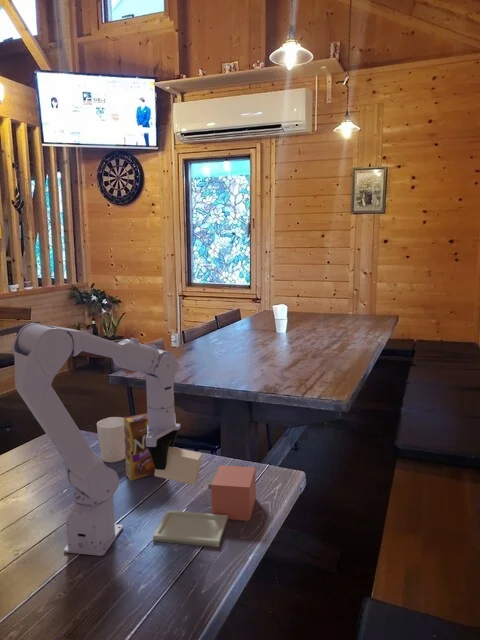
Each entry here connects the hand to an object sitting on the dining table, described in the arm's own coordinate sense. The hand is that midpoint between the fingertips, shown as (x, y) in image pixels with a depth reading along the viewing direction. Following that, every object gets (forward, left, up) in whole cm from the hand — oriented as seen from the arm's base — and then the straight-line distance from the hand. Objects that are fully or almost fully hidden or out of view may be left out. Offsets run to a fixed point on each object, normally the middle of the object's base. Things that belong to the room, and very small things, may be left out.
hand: (163, 465), depth 105 cm
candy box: (+14, +9, -10) cm, 19 cm away
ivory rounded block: (0, -3, -3) cm, 4 cm away
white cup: (+22, +21, -10) cm, 32 cm away
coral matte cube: (+1, -15, -9) cm, 18 cm away
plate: (-8, -9, -9) cm, 15 cm away
